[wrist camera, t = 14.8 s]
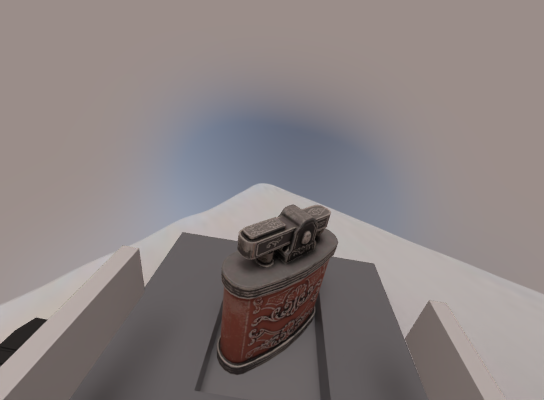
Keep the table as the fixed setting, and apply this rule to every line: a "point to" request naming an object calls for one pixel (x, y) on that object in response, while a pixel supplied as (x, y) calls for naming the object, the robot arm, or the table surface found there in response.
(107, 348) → the dock
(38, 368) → the robot arm
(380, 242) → the table surface
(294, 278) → the lighter
